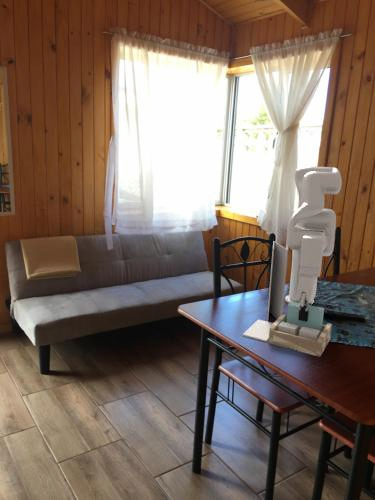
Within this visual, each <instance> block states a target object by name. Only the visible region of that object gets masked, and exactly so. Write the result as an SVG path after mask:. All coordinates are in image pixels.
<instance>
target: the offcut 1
mask: <svg viewBox="0 0 375 500" xmlns="http://www.w3.org/2000/svg"><path fill="white" fill-rule="evenodd" d="M278 331H280V332H284V333H288V334H292V335H296V336H297V333H298V325H294V324H290V323H286V322H281V323H280V324H279V325H278Z"/></svg>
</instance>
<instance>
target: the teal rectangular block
mask: <svg viewBox="0 0 375 500" xmlns="http://www.w3.org/2000/svg"><path fill="white" fill-rule="evenodd" d="M304 305H305V306H306V304H304ZM299 308H300V303H297V302H292V301H291V302H290V303H287V312H286V314H287V320H286V323H290V324H294V325H298V326H299V327H302V326H303V327H307V328H312V329H316V330H320V331H321V332H322V325H323V323H324V313H325V308H323V307H321V306H316V305H312V306H311V305H308V311H309V312H308V321H307V322H305V321H301V320H298V317H299Z"/></svg>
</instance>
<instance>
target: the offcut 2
mask: <svg viewBox="0 0 375 500" xmlns="http://www.w3.org/2000/svg"><path fill="white" fill-rule="evenodd" d="M319 334H320V330H316V329H312V328H307V327H303V326H302V328H301V329H300V330H299V336H300V337H304V338H308V339H313V340H318V338H319Z"/></svg>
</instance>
